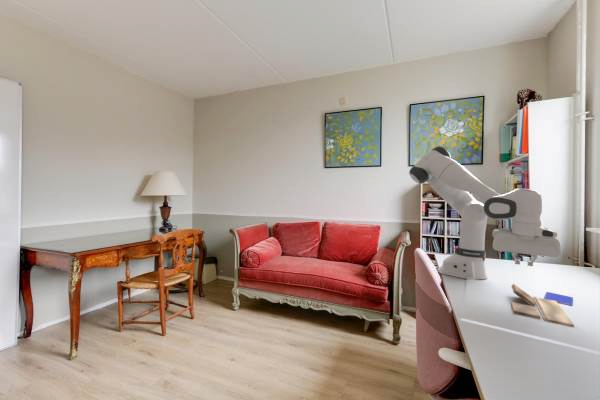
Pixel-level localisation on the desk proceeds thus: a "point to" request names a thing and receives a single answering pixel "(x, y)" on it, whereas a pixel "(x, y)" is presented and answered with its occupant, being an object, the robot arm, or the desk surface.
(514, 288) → the plank
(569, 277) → the desk surface
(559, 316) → the laid board
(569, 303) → the hard drive
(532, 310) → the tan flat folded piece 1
